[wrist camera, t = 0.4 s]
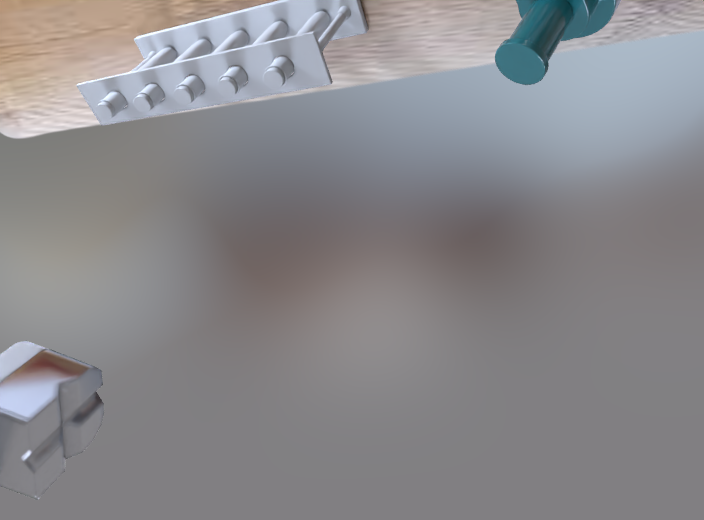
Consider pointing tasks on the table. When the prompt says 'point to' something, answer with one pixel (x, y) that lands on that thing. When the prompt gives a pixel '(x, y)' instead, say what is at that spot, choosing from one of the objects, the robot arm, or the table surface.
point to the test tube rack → (227, 59)
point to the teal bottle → (548, 34)
